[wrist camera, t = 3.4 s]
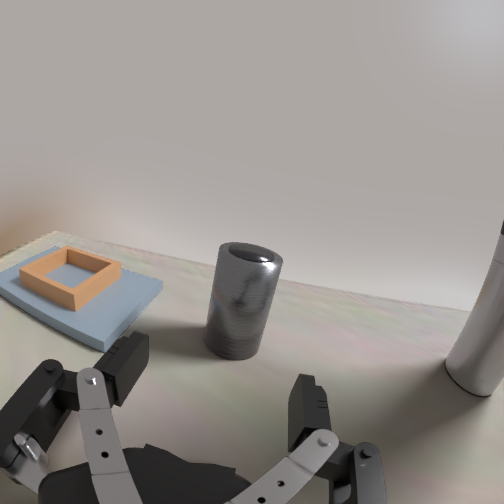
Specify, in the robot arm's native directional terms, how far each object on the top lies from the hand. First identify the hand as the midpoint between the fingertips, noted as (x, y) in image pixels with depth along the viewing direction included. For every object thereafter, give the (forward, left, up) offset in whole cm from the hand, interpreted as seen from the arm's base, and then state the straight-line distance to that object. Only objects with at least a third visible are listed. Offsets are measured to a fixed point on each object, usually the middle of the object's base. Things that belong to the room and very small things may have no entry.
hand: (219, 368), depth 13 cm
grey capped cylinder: (-6, -8, -6) cm, 12 cm away
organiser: (+9, -19, -6) cm, 22 cm away
